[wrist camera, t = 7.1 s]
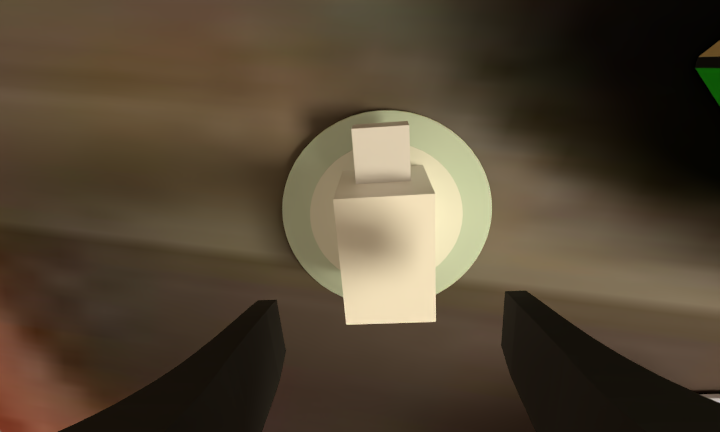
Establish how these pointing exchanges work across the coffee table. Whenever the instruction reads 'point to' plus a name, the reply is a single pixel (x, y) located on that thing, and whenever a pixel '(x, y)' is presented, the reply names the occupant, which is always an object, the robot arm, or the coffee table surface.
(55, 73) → the coffee table surface
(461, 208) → the coaster
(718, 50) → the puzzle cube
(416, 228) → the connector
